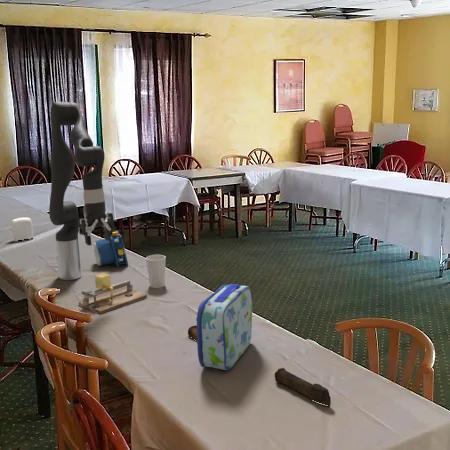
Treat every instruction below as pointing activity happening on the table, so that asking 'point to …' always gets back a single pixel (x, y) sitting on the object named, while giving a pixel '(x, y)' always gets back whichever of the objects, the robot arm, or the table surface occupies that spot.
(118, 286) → the board
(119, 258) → the blue piece
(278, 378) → the hand tool
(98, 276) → the sliding block
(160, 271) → the cup
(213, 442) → the table surface
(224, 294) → the lunch box
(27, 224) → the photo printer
